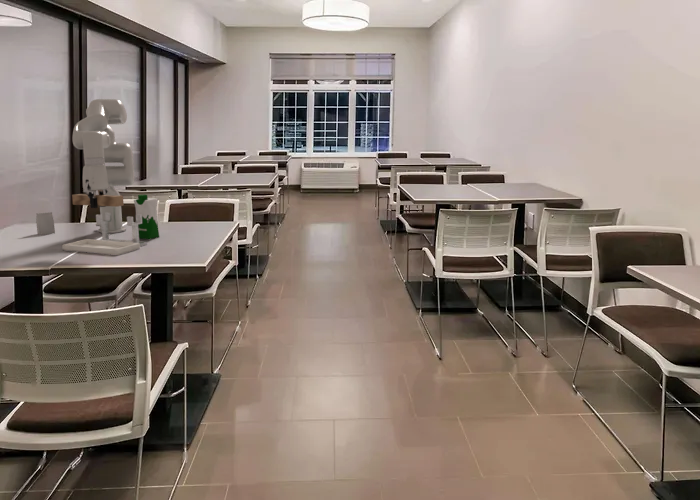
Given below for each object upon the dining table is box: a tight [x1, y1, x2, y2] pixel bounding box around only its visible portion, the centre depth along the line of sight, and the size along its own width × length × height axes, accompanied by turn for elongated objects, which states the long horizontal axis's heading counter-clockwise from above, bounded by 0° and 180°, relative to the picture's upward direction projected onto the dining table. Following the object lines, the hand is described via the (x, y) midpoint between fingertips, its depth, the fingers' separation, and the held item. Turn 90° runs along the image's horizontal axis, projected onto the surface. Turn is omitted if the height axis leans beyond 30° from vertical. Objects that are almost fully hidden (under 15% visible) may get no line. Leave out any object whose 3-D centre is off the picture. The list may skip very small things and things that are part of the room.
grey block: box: [35, 211, 56, 236], centre depth 287 cm, size 4×7×10 cm, turn 132°
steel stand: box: [95, 213, 148, 248], centre depth 261 cm, size 22×7×13 cm, turn 72°
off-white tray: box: [62, 238, 141, 256], centre depth 251 cm, size 28×14×2 cm, turn 72°
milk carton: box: [133, 194, 160, 240], centre depth 277 cm, size 9×9×20 cm
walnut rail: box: [71, 193, 125, 207], centre depth 247 cm, size 22×4×4 cm, turn 72°
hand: (98, 206), depth 247 cm, fingers closed on walnut rail, 4 cm apart
